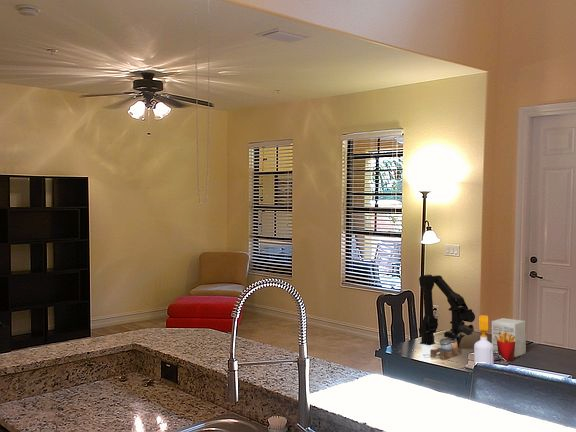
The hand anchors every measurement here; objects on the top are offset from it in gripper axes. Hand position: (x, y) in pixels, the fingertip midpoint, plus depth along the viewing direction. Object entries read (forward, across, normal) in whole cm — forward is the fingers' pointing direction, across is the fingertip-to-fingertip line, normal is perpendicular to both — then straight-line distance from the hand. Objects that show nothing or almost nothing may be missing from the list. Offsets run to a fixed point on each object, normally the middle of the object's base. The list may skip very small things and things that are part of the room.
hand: (457, 348), depth 315 cm
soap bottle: (+2, -18, -24) cm, 30 cm away
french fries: (+2, -2, -28) cm, 28 cm away
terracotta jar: (+1, -4, 0) cm, 4 cm away
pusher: (+1, -17, +1) cm, 17 cm away
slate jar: (+1, -10, 0) cm, 10 cm away
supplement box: (+2, +15, -22) cm, 27 cm away
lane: (+2, -12, 0) cm, 13 cm away
